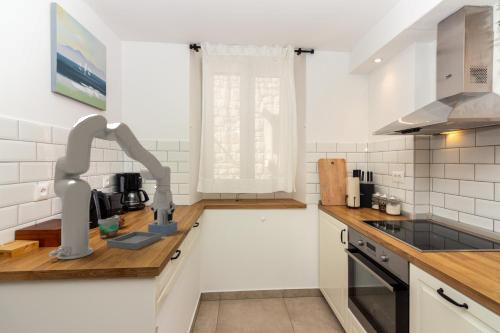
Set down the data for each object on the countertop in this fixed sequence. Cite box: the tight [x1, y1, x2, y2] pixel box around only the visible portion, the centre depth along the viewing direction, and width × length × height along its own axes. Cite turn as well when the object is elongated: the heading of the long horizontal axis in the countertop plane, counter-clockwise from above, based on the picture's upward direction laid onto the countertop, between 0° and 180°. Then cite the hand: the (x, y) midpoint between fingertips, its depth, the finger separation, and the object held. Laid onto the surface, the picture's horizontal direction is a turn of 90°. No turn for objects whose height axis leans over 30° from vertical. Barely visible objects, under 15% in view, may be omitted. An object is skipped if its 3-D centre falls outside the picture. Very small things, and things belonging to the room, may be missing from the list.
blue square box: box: [147, 220, 178, 237], centre depth 140 cm, size 11×11×6 cm
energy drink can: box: [156, 209, 169, 225], centre depth 140 cm, size 6×6×15 cm
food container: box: [97, 214, 120, 240], centre depth 132 cm, size 12×6×10 cm, turn 168°
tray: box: [106, 230, 162, 251], centre depth 122 cm, size 18×16×3 cm
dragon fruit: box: [110, 214, 126, 230], centre depth 149 cm, size 8×8×12 cm
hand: (163, 220), depth 140 cm, fingers open, 8 cm apart
